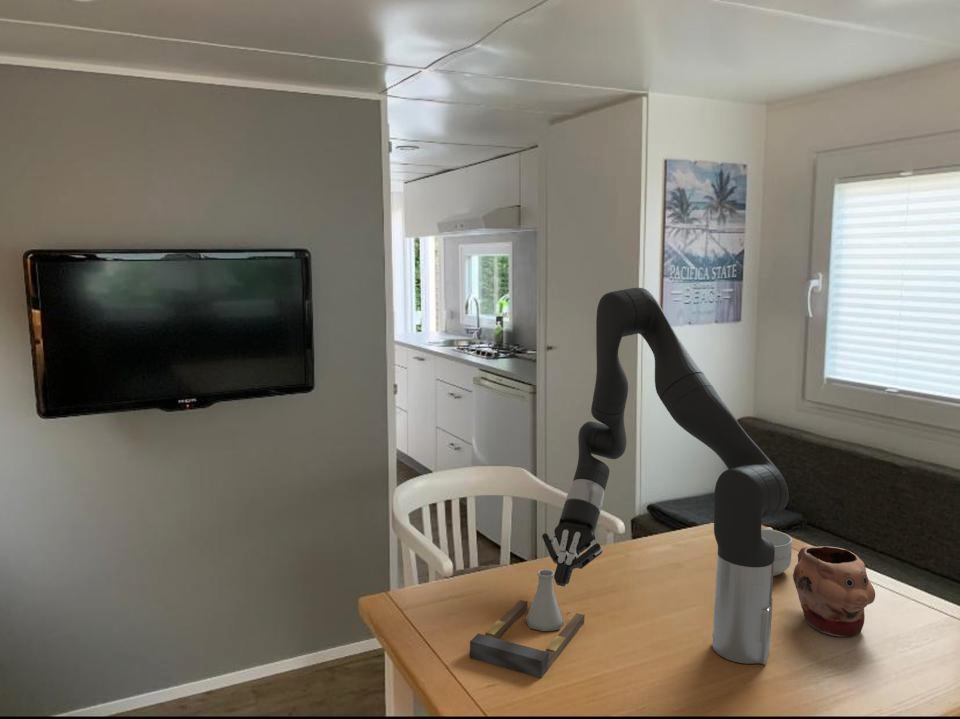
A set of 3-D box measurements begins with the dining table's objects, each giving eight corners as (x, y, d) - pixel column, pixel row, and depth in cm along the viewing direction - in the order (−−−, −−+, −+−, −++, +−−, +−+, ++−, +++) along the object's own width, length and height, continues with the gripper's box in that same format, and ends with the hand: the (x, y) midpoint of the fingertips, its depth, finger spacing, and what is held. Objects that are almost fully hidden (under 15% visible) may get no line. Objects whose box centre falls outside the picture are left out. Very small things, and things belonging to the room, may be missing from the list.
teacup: (782, 585, 156) (784, 549, 155) (730, 572, 163) (733, 537, 162) (799, 564, 167) (802, 530, 166) (750, 552, 174) (753, 519, 173)
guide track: (584, 623, 139) (584, 607, 139) (541, 678, 120) (541, 660, 120) (519, 607, 145) (520, 592, 144) (469, 657, 126) (470, 641, 126)
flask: (563, 615, 142) (565, 565, 141) (564, 633, 135) (565, 581, 134) (525, 613, 143) (527, 563, 141) (524, 631, 136) (525, 579, 134)
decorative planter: (765, 601, 149) (770, 535, 147) (817, 595, 152) (822, 530, 150) (835, 652, 130) (841, 576, 128) (893, 644, 132) (900, 570, 131)
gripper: (548, 492, 155) (524, 569, 145) (610, 502, 149) (588, 583, 140) (557, 509, 160) (534, 585, 151) (616, 520, 154) (596, 599, 145)
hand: (560, 584), depth 145 cm, fingers closed
